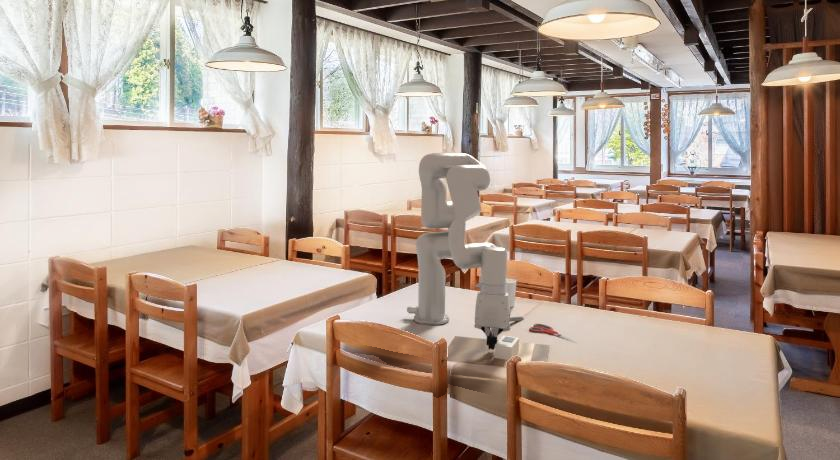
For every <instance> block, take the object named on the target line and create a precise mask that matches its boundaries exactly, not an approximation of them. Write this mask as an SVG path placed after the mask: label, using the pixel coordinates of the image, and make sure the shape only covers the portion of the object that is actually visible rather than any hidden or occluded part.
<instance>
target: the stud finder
mask: <svg viewBox="0 0 840 460" xmlns="http://www.w3.org/2000/svg"><path fill="white" fill-rule="evenodd" d="M498 340H499V341H498V342H497V343H496V344H495V358H498V359H504V360H509V359H510V358H511V357H512V356H514V355H516V354H517V352H518V351H519V342H520V337H515V336H509V335H502V336H501V338H499V339H498Z"/></svg>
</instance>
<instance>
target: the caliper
mask: <svg viewBox="0 0 840 460" xmlns="http://www.w3.org/2000/svg"><path fill="white" fill-rule="evenodd" d="M524 319H525V318H524V317H523V316H521V315H516V316H510V322H509V323H511V322H520V321H522V320H524ZM494 329H495V328H491V332H494Z"/></svg>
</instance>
